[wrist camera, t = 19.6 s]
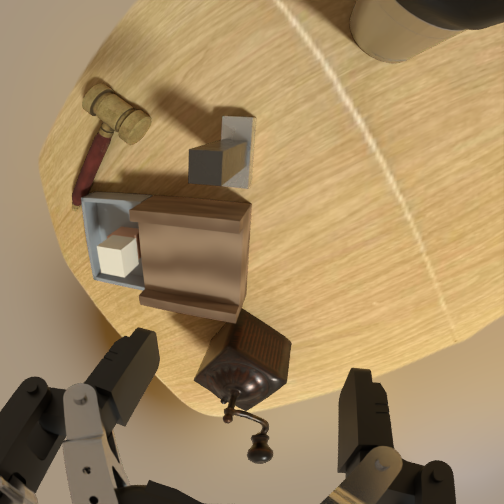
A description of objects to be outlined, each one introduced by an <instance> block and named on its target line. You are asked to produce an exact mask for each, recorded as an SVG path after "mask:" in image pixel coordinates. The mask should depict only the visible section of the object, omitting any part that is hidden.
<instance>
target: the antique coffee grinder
mask: <svg viewBox="0 0 504 504" xmlns="http://www.w3.org/2000/svg"><path fill="white" fill-rule="evenodd" d="M291 345H292V343H291V342H290V341H289V340H288V339H287V338H286V337H285V336H283V335H282V334H280V333H279V332H278V331H276V330H275V329H273V328H272V327H270V326H269V325H267V324H266V323H264V322H262V321H261V320H259V319H258V318H256V317H254V316H253V315H251V314H250V313H248V312H246V311H245V310H243V309H241V310H240V313H239V316H238V318H237V321H236V323H230V322H227V323H226V324H225V325H224V326H223V327H222V328H221V330H220V331H219V332H218V333H217V334H216V335H215V336H214V337H213V338H212V339H211V342H210V345H209V348H208V350H207V352H206V354H205V356H204V358H203V361H202V363H201V365H200V367H199V370H198V372H197V374H196V376H195V378H194V381H195V382H197V383H198V384H200V385H201V386H203V387H205V388H206V389H208V390H209V391H211V392H212V393H213V394H214V395H216V396H217V397H218V398H220V399H221V403H222V404H226V403H227V402H229V404H228V407H227V408H226V409H224V414H225V415H224V416H223V421H224V422H225V423H230V422H232V420H233V417H232V416H234V415H236V416H240V417H245V418H248V419H251V420H253V421H256V422H258V423H260V424H261V425H262V430H261V432H259V433H257V434H256V435H252V437H251V440H252V442H253V445H252V447H251V448H250V449H249V450H248V454H247V457H248V460H250V461H252V462H254V463H257V464H263V463H266V462H268V461H270V460H271V459H272V457H273V450H272V449H271V448H270V447H269V446H268V444H267V442H268V440H269V436H268V435H266V433H267V432H268V430H269V424H268V422H267V421H266V420H264V419H262V418H260V417H258V416H256V415H253V414H251V413H248V412H246V411H247V410H249V409H250V408H252V407H253V406H255V405H257V404H258V403H260V402H261V401H263V400H264V399H266V398H267V397H269V396H270V395H272V394H273V393H274V392H276V391H277V390H278V389H280V388H281V387H282V386H283V385H285V384H286V383H287V377H288V368H289V359H290V350H291ZM235 406H237V407H239V408H241V409H243V410H245V411H242V410H235V409H234V407H235Z"/></svg>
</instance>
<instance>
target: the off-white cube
mask: <svg viewBox="0 0 504 504" xmlns="http://www.w3.org/2000/svg"><path fill="white" fill-rule="evenodd" d="M97 251H98V257H99V263H100V269H101V273H105V274H110V275H115V276H119V277H124V278H125V277H126V276H127V275H128V274H129V273H130V272H131V271H132V270H133V269H134V268H135V267H136V266H137V265H138V264H139V262H138V253H137V243H136V238H132V237H125V236H118V235H112V236H110V237H109V238H107V239H106V240H105V241H103V242H102V243H100V244H99V245H98V246H97Z"/></svg>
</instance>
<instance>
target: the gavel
mask: <svg viewBox="0 0 504 504" xmlns="http://www.w3.org/2000/svg"><path fill="white" fill-rule="evenodd" d="M82 107H83V109H84V110H85V111H87V112H88V113H89V114H91V115H92V116H97V117H98V118H99V119H101V120H102V121H103V123H102V126H101V128H100V130H99V132H98V133H97V135H96V136H95V138H94V140H93V142H92V145H91V147H90V149H89V152H88V154H87V157H86V159H85V161H84V164H83V166H82V169H81V172H80V174H79V177H78V180H77V182H76V185H75V188H74V191H73V193H72V201H73V202H72V205H73V207H72V210H73V211H77V209H78V207H80V205H81V204H82V202H81V197H84V196H86V195H88V192H89V190H90V187H91V185H92V182H93V180H94V178H95V175H96V173H97V171H98V168H99V166H100V164H101V162H102V159H103V157H104V155H105V153H106V151H107V148H108V146H109V144H110V141H111V137H112V135H113V133H114V131H116V132H119V133H118V135H119V137H120V138H121V139H122V140H124V141H125V142H126V143H127V144H129V145H133V144H135V143H137V142H138V141H139V140H141V139H142V138H143V136H144V135H145V134H146V132H147V131H148V129H149V127H150V125H151V117H149V116H148V115H147V114H145V113H144V112H143V111H141V110H136V111H135V109H134V108H133V107H132V106H130V105H129V104H128V103H126V102H125V101H124V100H122V99H121V98H119V97H118V96H117V95H115V94H114V92H113V90H112V89H111V88H109V87H108V86H106V85H105V84H103V83H99V84H96V85H95V86H93V87H92V88H91V89H90V90H89V91H88V92H87V93H86V95H85V97H84V99H83V102H82Z"/></svg>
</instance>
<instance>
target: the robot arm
mask: <svg viewBox="0 0 504 504" xmlns="http://www.w3.org/2000/svg"><path fill="white" fill-rule="evenodd" d="M503 22H504V0H357V1H356V3H355V6H354V8H353V11H352V14H351V17H350V30H351V33H352V36H353V38H354V40H355V41H356V43H357V44H358V46H359V47H360V48H361V49H362V50H363V51H364V52H366V53H367V54H368V55H370V56H371V57H373V58H375V59H377V60H380V61H383V62H388V63H400V62H404V61H407V60H409V59H410V58H412V57H414V56H416V55H418V54H420V53H422V52H424V51H426V50H428V49H430V48H432V47H434V46H436V45H438V44H440V43H441V42H443V41H446V40H448V39H450V38H452V37H454V36H456V35H457V34H460V33H462V32H464V31H466V30H468V29H470V30H479V29H484V28H487V27H490V26H493V25H496V24H499V23H503ZM159 361H160V356H159V350H158V343H157V336H156V333H155V332H154V331H150V330H147V329H143V328H139V327H138V328H136V329H135V331H134V332H133V333H132V335H131V336H130V337H127V336H124V337H122V338H121V339H119V340H118V341H116V342H115V343H114V345H113V346H112V347H111V348H110V350H109V352H107V353H106V355H105V356H104V359H102V360H101V361H100V362H99V364H98V365H97V367H96V368H95V369H94V371H93V372H92V373H91V375H90V376H89V377H88V378H87V380H86V381H85V382H84V383H78V384H74V385H72V386H70V387H69V388H68V389H67V390H65V389H57V388H50V387H48V385H47V383H46V382H45V380H43V379H42V378H40V377H30V378H28V379H26V380H25V381H23V382H22V384H21V385H20V386H19V387H18V389H17V390H16V391H15V392H14V394H13V395H12V397H11V398H10V399H9V401H8V402H7V403H6V405H5V406H4V407H3V409H2V410H1V412H0V504H38V500H37V497H36V495H35V493H36V491H37V489H38V487H39V485H40V483H41V481H42V480H43V478H44V476H45V474H46V472H47V470H48V468H49V466H50V464H51V463H52V461H53V459H54V457H55V455H56V453H57V452H58V450H59V448H60V446H61V444H62V443H63V454H64V461H65V467H66V473H67V479H68V484H69V490H70V495H71V499H72V503H73V504H204V503H201V502H199V501H197V500H195V499H193V498H192V497H190V496H188V495H186V494H184V493H182V492H181V491H179V490H177V489H174V488H171V487H168V486H165V485H162V484H159V483H156V482H153V481H151V480H149V481H148V484H147V485H130V483H129V480H128V477H127V475H126V473H125V471H124V468H123V465H122V462H121V458H120V454H119V451H118V447H117V443H116V439H115V435H114V431H113V428H114V427H115V425H116V423H117V424H120V425H122V426H126V424H127V422H128V421H129V419H130V417H131V415H132V413H133V412H134V409H135V408H136V406H137V405H138V403H139V401H140V399H141V397H142V396H143V394H144V392H145V390H146V389H147V387H148V385H149V383H150V382H151V380H152V378H153V376H154V375H155V373H156V371H157V369H158V366H159ZM66 436H67V440H66V441H64V439H65V437H66ZM338 473H346V479H345V480H344V481H343V482H342V483H341V484H340V485H339V486H338V487H337V488H336V490H334V491H333V492H332V493H331V494H330V495H329V496H328V497H327V498H326V499H325V500H324V501H323V502H322V503H320V504H456V497H455V486H454V476H453V471H452V469H451V467H450V466H449V465H448V464H447V463H445V462H443V461H439V460H438V461H437V460H435V461H431V462H429V463H428V464H426V465H425V466H423V465H419V464H415V463H411V462H408V461H406V460H404V459H402V458H401V455H400V454H399V453H398V452H397V451H396V450H395V449H394V445H393V438H392V429H391V422H390V415H389V407H388V400H387V394H386V392H385V390H384V388H383V387H382V385H381V384H380V383H373V382H372V375H371V371H370V369H360V368H351V370H350V372H349V374H348V377H347V379H346V381H345V384H344V386H343V388H342V391H341V394H340V398H339V435H338Z"/></svg>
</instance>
